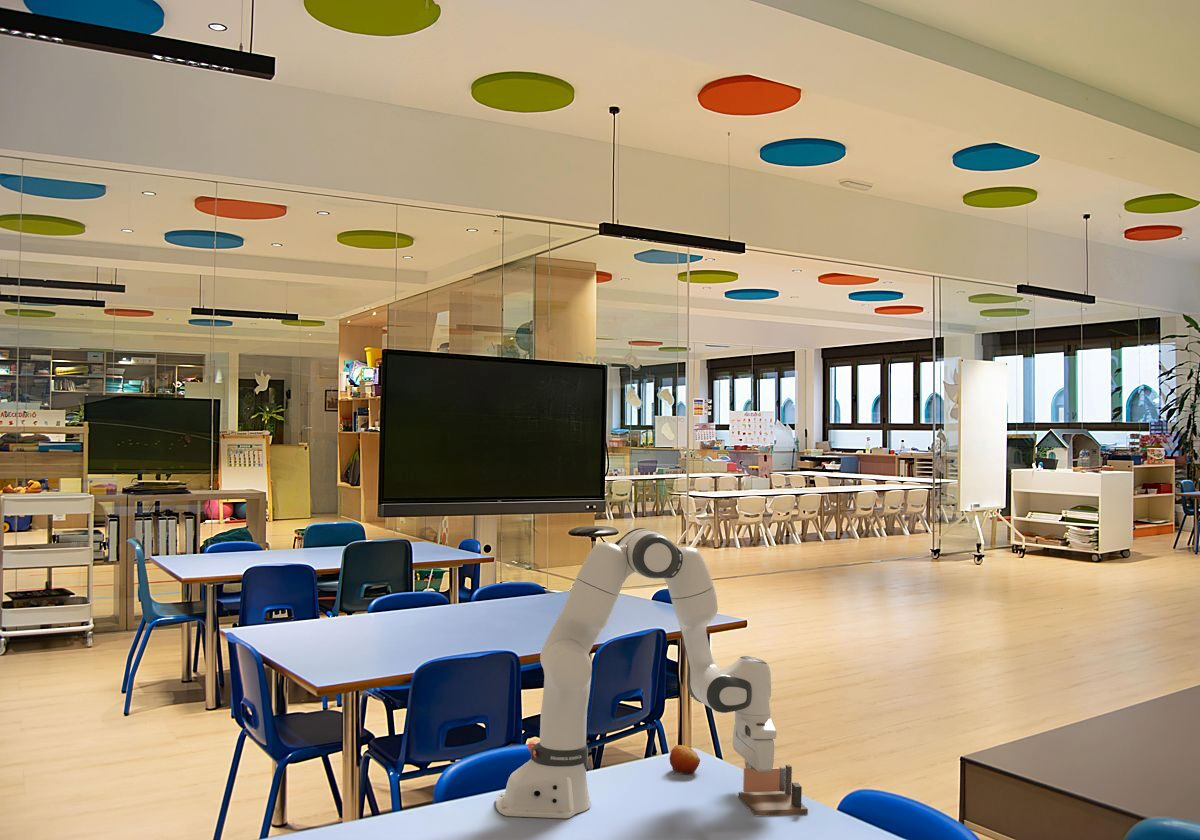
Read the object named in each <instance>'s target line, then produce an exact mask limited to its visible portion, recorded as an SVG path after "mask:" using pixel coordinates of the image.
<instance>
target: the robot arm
mask: <svg viewBox="0 0 1200 840" xmlns="http://www.w3.org/2000/svg"><path fill="white" fill-rule="evenodd" d="M634 573H636V574H637V575H640V576H643V577H645V578H649V579H664V582H665V583H666V585H667V589H668V593H669V597H670V600H671V605H672V606H673V607H672V608H673V609H674V612H675V613H674V614H675V615H676V618H677V621H678V625H679V627H680V634H681V639H682V643H683V646H684V650H685V651H684V652H685V655H686V661H687V675H686V687H687V691H688V694H689V695H690V696H691V698H692V699H693V700H695V701H696V702H698V703H701V704H703V705H705V706H706V707H708V708H710V709H712V710H713V711H714V712H718V713H722V714H725V713H732V712H734V724H733V730H732V731H733V732H732V748H733V750H734V751H735V753H737V754H738V755H739V756H741V757H742V759H743V760H744V768H755V769H756V770H757V771H758V772H771V770H772V768H773V767H774V761H775V741H774V740H776V739H777V730H776V728H775V726H774V724H773V722H772V721H773V720H772V718H771V714H772V713H771V712H772V710H771V707H770V699H771V697H772V677H771V670H770V669H771V668H770V666H769V664H768V663H767V662H766V661H764V660H762V659H760V658H757V657H754V656H748V655H744V656H740V657H739V658H738V659H737V660H736V661H735V662H733V663H732V664H730V665H728V666H727V667H725V668H722V669H721V668H720V667H719V666H718V665H717V663H716V662H715V660H714V659H713V656H712V651H711V648H710V642H709V639H708V633H707V628H708V624H710V623H711V621H713V620H714V618H715V617H716V615H717V613H718V610H719V609H718V599H717V597H718V596H717V594H716V593H717V592H716V589H715V586H714V582H713V579H712V576H711V574H710V571H709V568H708V566H707V564H706V562H705V560H704V557H703V555H702V553H701V551H699V549H697V548H695V547H693V546H679V547H677V546H676V544H675V543H673V542H672V541H671V540H670V539H669V538H668V537H667V536H664V535H663V534H661V533H660V532H658V531H656V530H653V529H649V528H644V527H640V528H639V527H637V528H634V529H632V530H630V531H628V532H627V533H625V534H624V535H623V536H621V538H619V539H618V540H617V541H616V542H615V543H614V542H610V541H602V542H601V541H600V542H598V543H596V544H595V545H594V546H593V547H592V549H591V550H590V551H589V553H588V554H587V556H586V558H585V559H584V562H583V563H582V565H581V567H580V568H579V571H578V573H577V576H576V578H575V580H574V583H573V585H572V586H571V589H570V591H569V594H568V597H567V599H566V601H565V604H564V605H563V608H562V610H561V612H560V614H559V615H558V617H557V619H556V621H555V622H554V624H553V626H552V628H551V630H550V632H549V634H548V636H547V637H546V640H545V642H544V643H543V646H542V647H541V650H540V656H539V657H540V658H539V661H540V664H541V667H542V669H543V675H544V678H543V679H544V681H543V692H542V693H543V694H542V699H541V700H542V701H541V709H540V724H539V725H540V726H539V728H540V729H539V742H538V743H536V742H535V741H529V742H528V744H527V749H528V751H529V752H530V759H528V761H527V762H525V763H524V764H523V765H521V766H520V767H518V768H517V769H516V770H514V771H513V772H512V773H511V774H509V775H510V776H509V777H508V779H507V782H506V786H505V791H504V792H500V793H499V794H498V795H497V797H496V799H495V807H496V808H495V809H497V811H498V812H499V813H500V814H501V815H504V816H506V817H522V818H525V817H526V818H545V819H546V818H549V819H551V818H552V819H570V818H571V817H573V816H575V815H576V814H578V813H583V812H585V811H587V810H588V809H589V808H590V807H591V806H592V802H591V800H590V799H591V798H590V795H589V789H588V788H589V787H588V781H587V780H588V779H587V768H588V763H589V762H588V761H589V748H588V744H587V725H588V724H587V722H588V721H587V720H588V719H587V717H588V706H589V699H590V693H591V692H590V691H591V684H592V671H593V664H592V659H591V656H590V652H591V651H592V648H593V647H594V645H595V643H596V641H597V639H598V638H599V636H600V634H601V633H602V632H603V630H604V629H605V628H606V626H607V624H608V621H609V619H610V617H611V614H612V612H613V610H614V607H615V604H616V601H617V599H618V597H619V595H620V592H621V589H622V587H623V584H624V583H625V581H626V580H627V579H628V577H629V576H630V575H632V574H634Z"/></svg>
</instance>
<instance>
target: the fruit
mask: <svg viewBox="0 0 1200 840" xmlns="http://www.w3.org/2000/svg"><path fill="white" fill-rule="evenodd" d="M700 762H701V759H700V757H699V754H698V753H697V752H696V751H695V750H694V749H692V748H691V747H689V746H687V745H681V744H680V745H679V744H677V745H675V746H674V747H673V748H672V749H671V751H670V755H669V764H670V766H671V768H672V769H671V770H673V773H672V775H674V774H676V773H679V774H684V775H692V774H694V772H696V771H697V769H698V767H699V766H700Z"/></svg>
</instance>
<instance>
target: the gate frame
mask: <svg viewBox="0 0 1200 840" xmlns="http://www.w3.org/2000/svg"><path fill="white" fill-rule="evenodd" d="M792 770H793V767H792V765H790V764H785V791H784V792H782V791H772V792H744V791H740V792H738V799H739V798H740V799H741V800H742V801H741V800H740V799H739V800H740V801H741V802H742V803H743V804H744V805H745V806H746V807H747V809H750V810H749V811H750V812H751V813H752V814H753V815H754V816H755V815H761V816H785V815H787V816H788V815H808V814H809V813H808V812H809V811H808V810H809V808H807V806H806V805H804V804H803V802H802V794H803V793H802V791H803V790H802V789H803V787H802V785H801V784H800V783H799V782H792V776H793V775H792V774H793V772H792Z"/></svg>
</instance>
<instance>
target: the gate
mask: <svg viewBox="0 0 1200 840" xmlns="http://www.w3.org/2000/svg"><path fill="white" fill-rule="evenodd" d="M785 771H786V766H778V767H777V766H776V767H774V766H773V768H772V770H771V772H758V771H757V770H756V769H755V768H746V767H744V768H743V782H742V783H743V784H742V785H743V786H742V787H743V788H742V789H743V790H742V792H772V791H782V792H784V791H785Z"/></svg>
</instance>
